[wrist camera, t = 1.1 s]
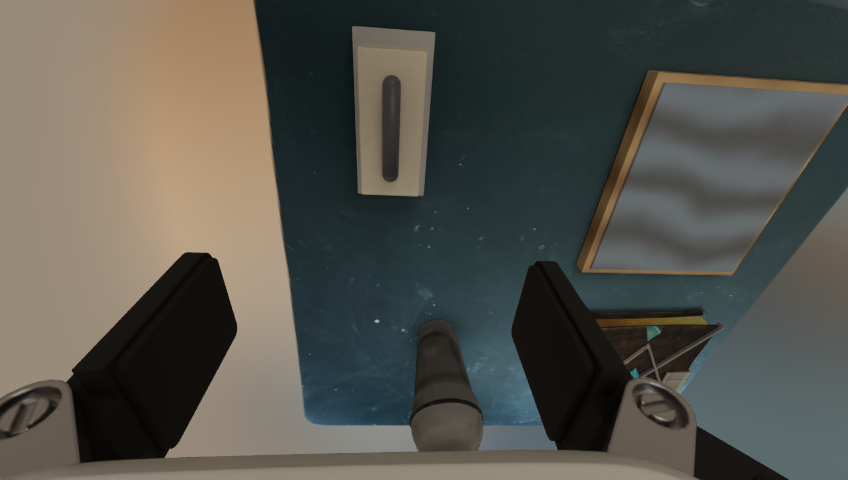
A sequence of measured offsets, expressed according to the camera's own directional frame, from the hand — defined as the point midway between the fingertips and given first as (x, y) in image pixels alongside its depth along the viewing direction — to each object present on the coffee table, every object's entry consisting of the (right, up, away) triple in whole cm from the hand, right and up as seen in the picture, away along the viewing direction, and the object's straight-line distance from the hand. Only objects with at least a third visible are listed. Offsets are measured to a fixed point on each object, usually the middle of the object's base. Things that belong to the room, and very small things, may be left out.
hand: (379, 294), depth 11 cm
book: (+28, -16, +39) cm, 50 cm away
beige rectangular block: (-1, +12, +19) cm, 22 cm away
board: (+28, +7, +24) cm, 38 cm away
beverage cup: (+3, -10, +33) cm, 35 cm away
